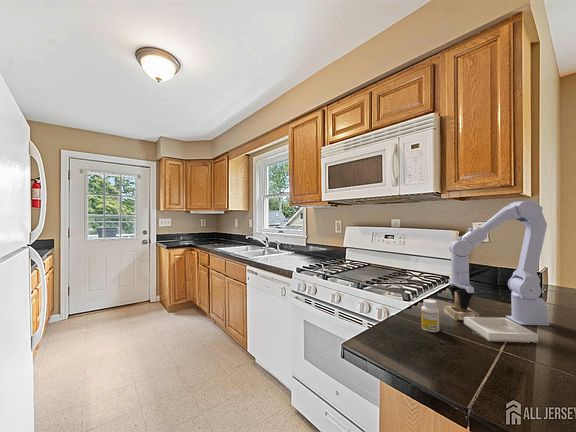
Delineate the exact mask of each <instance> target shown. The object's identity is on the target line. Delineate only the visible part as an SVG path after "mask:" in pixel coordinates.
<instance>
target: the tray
mask: <svg viewBox="0 0 576 432" xmlns="http://www.w3.org/2000/svg"><path fill="white" fill-rule="evenodd" d="M463 324H464V325H465V326H467V327H468V328H469V329H471V330H472V331H474V332H475V333H476V334H478V335H480V336H481V338H482V337H483V338H484V339H486V340H487V341H488V342H500V343H501V342H502V343H503V342H504V343H505V342H507V343H530V342H533V343H536V344H539V334H538V333H536V332H534V331H532V330H531V329H528V328H526V327H524V325H521V324H519V323H517V322H515V321H513V320H511V319H509V318H507V317H495V316H494V317H489V316H488V317H487V316H485V317H484V316H479V317H464V320H463Z"/></svg>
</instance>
